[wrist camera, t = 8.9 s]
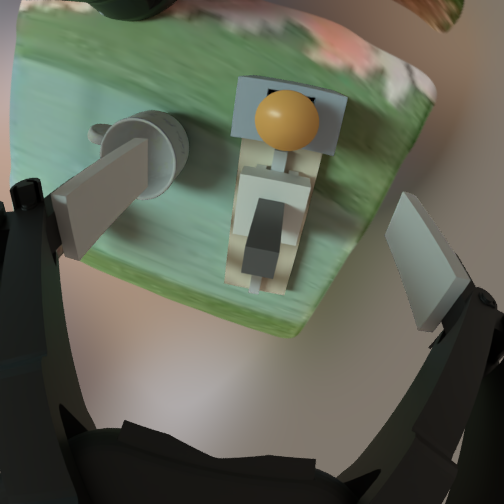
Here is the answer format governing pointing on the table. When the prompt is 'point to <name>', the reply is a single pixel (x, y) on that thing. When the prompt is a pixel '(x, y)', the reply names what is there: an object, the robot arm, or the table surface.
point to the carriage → (268, 215)
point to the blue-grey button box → (325, 101)
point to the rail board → (249, 156)
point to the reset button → (287, 120)
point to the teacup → (159, 146)
